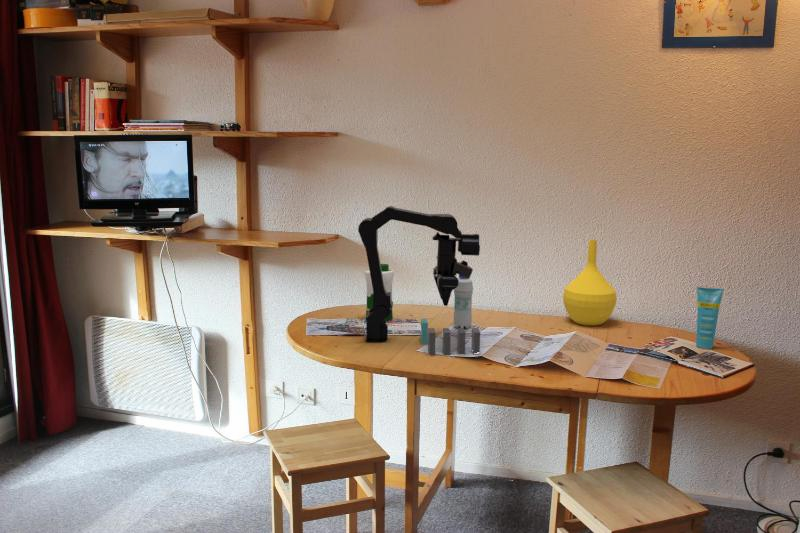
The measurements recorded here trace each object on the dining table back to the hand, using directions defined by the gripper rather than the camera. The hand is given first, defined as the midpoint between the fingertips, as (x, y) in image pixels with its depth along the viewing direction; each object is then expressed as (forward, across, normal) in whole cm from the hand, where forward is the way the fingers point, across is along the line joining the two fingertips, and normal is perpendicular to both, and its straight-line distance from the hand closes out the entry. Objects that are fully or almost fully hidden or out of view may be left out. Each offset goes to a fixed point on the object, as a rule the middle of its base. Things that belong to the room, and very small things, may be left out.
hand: (444, 302), depth 217 cm
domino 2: (+13, -13, +5) cm, 19 cm away
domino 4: (+13, -13, -4) cm, 18 cm away
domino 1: (+13, -2, +6) cm, 14 cm away
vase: (+11, +21, -55) cm, 60 cm away
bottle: (+13, +15, -9) cm, 22 cm away
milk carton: (+14, +26, +20) cm, 35 cm away
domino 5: (+12, -13, -9) cm, 20 cm away
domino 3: (+13, -13, 0) cm, 18 cm away
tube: (+10, -9, -82) cm, 84 cm away
